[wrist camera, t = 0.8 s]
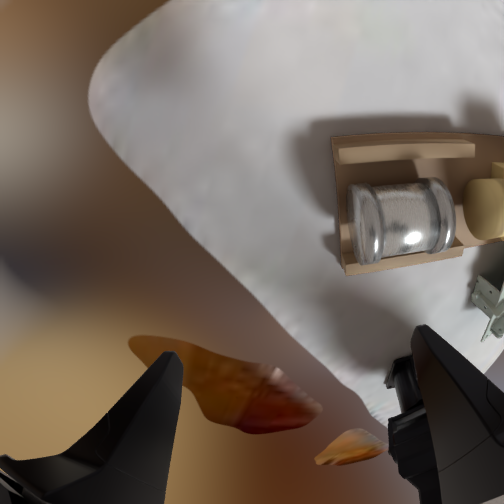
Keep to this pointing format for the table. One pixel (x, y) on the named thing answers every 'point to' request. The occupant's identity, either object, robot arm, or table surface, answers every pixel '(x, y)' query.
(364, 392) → the table surface
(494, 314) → the metal bracket
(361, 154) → the wooden channel tray
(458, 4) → the table surface
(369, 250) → the cylinder
